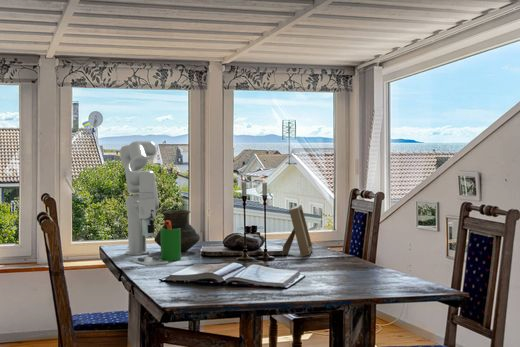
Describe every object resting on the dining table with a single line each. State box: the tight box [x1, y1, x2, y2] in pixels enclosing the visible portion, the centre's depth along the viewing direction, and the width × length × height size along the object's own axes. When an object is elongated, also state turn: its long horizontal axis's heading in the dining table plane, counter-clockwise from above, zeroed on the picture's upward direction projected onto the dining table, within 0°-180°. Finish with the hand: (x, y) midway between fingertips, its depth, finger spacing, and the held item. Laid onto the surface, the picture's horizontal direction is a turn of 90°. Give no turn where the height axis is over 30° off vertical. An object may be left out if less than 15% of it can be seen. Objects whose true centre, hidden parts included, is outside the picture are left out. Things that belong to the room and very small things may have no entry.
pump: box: [142, 219, 155, 237], centre depth 338 cm, size 6×6×10 cm
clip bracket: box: [128, 255, 169, 267], centre depth 338 cm, size 20×11×2 cm, turn 37°
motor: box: [159, 220, 182, 262], centre depth 346 cm, size 10×9×20 cm
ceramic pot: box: [154, 209, 201, 254], centre depth 372 cm, size 24×24×22 cm
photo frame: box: [281, 204, 313, 258], centre depth 360 cm, size 15×22×25 cm
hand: (147, 232), depth 338 cm, fingers closed on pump, 5 cm apart
